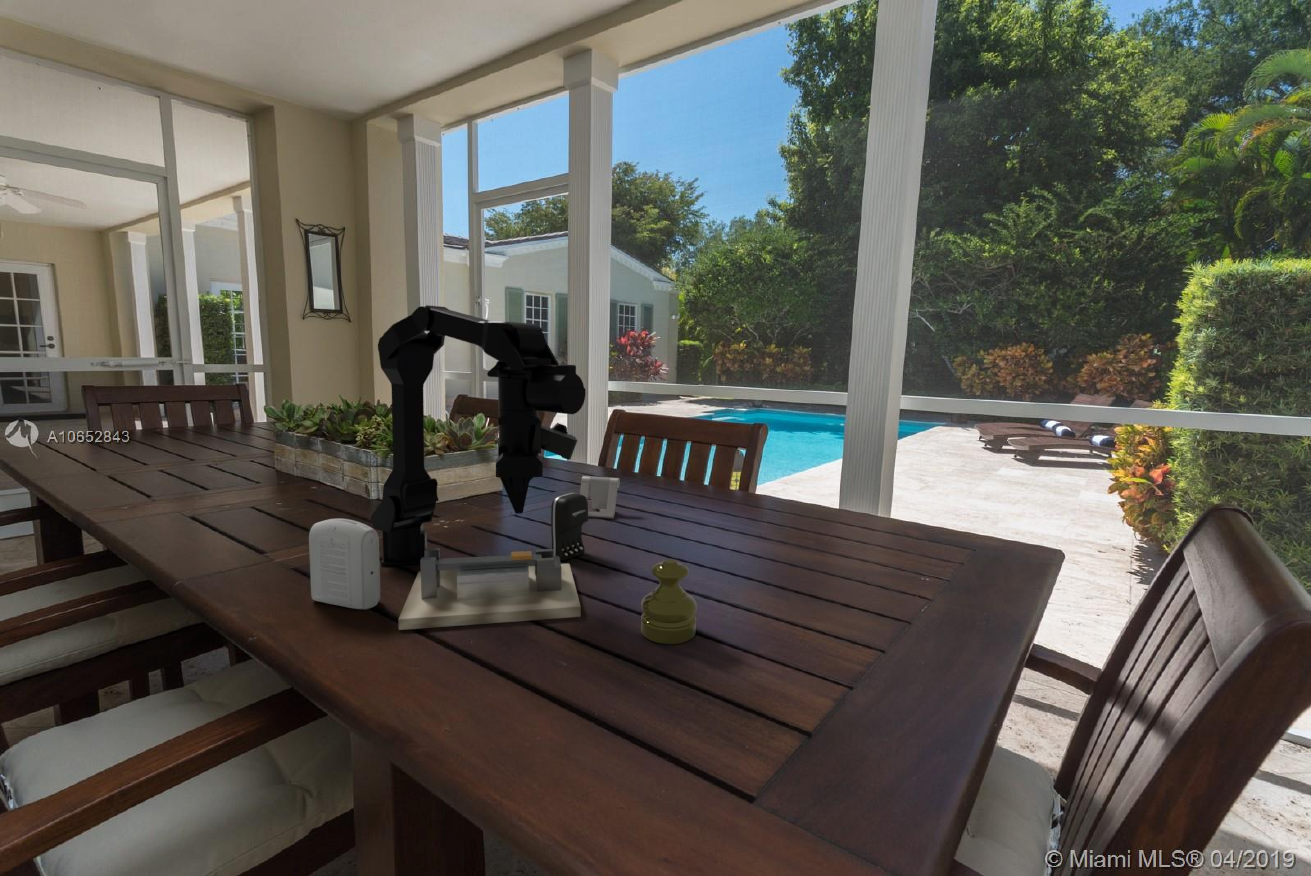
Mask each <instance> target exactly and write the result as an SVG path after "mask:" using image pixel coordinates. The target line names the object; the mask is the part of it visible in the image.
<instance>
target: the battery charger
mask: <svg viewBox="0 0 1311 876" xmlns="http://www.w3.org/2000/svg"><path fill="white" fill-rule="evenodd" d="M588 508H589V501H588V500H587V498H586V497H585V496H584V495H581V494H580V493H577V492H569V493H565V494H562V495H558V496H556V497H554V498H553V500H552V503H551V507H550V510H551V511H550V526H551V527H550V528H551V531H550V533H551V549H553V556H559V558H560V561H568V560H571V559H573V558H577V557H579V556H581V555H583V554H584V553H585V551H586V550H585V546H584V543H583V537H582V533H583V531H582V529H583V525H584V524H585V523H587V522H588V521H589V517H588Z"/></svg>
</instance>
